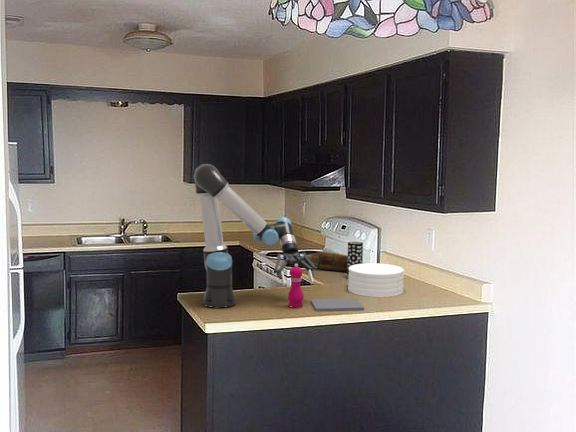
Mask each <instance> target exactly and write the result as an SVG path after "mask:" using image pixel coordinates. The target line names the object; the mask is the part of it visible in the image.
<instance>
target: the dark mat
mask: <svg viewBox="0 0 576 432" xmlns="http://www.w3.org/2000/svg"><path fill="white" fill-rule="evenodd" d="M310 303H311V305H312V307H313V309H314V308H315V309H314V310H316V311H315V312H337V311H338V312H340V311H344V312H345V311H348V310H349V311H365V307H364V306H363V305H362V303H361V302H360V301H359V300H358V298H328V299H327V298H322V299H320V298H319V299H318V298H317V299H316V298H315V299H314V298H313V299H310Z"/></svg>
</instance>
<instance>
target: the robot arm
mask: <svg viewBox="0 0 576 432" xmlns="http://www.w3.org/2000/svg"><path fill="white" fill-rule="evenodd" d="M193 181H194V185H195V187H194V188H195V194H196V195H197V196H198V197H199V201H200V208H201V217H202V226H203V232H204V233H203V234H204V242H205V243H204V244H205V246H204V248H203V249H202V250H203V260H204V261H203V263H204V268H205V270H206V290H205V293H204V295H203V299H202V305H203V304H204V305H207V306H212V307H225V306H232V305H234V304H235V303H236V302H237V300H236V296H235V293H234V290H233V259H232V255H231V254H229V252H228V246H227V245H225V242H224V236H223V228H222V219H221V212H220V211H221V209H220V202H221V203H222V204H223V205H224V206H225V207H226V208H227V209H228V210H229V211H230V212H231V213H232V214H234V215H235V217H236V218H238V219H239V220H240V221H241V222H242V223H243V224H244V225H245V226H246V227H247V228H249V229H250V230H251V232H252V234H253V235H252V236H253V240H254V241H255V242H263V244H264V245H266V246H271V247H272V246H274V245H276V244H277V242H278V241H279V243H280V247H281V252H282V254H281V253H278V254H277V256H276V264H275V266H274V269H273V274H277V275H278V279H279V280H281V284H282V287H285V285H286V280H285V279H286V278H285V275H284V272H283V270H284V268H285V267H286V266H287V265H288V264H298V265H300V266H301V267H302V268H304V269H305V270H307V274H308V279H309V283H310V285H313V284H314V281H315V280H314V271H315V270H316V266H315V265H314V264H313V263H312V262H311V261H310V259H309V258H308V257H307V256H306V255H307V254H306V252H305V251H304V252H302V253H300V252H299V248H298V244H297V240H296V237H295V233H294V229H293V225H292V222H291V220H290V218H289V217H287V216H284V217H283V216H282V217H279V218H277V219H276V220H275V223H270V224H268V222H267V221H265V220H264V219H263V218H262V216H260V214H259V213H258V212H256V211H255V210H254V208H252V207H251V206H250V205H249V204H248V203H247V202H246V201H245V200H244V199H243V198H242V197H241V196H240V195H239V194H237V192H235V191H234V189H232V188H231V187H230V186H229V182H228V181H227V179H225V178H224V176H223V175H222V174H221V173H220V171H219V170H218V168H217V167H215V166H214V165H212V164H211V163H202V164H200V165H198V166H197V167H196V168H195V169H194V172H193ZM219 201H220V202H219ZM300 257H301V258H302V259H303V260H304V261H303V260H302V259H301V258H300ZM282 259H284V261H283V263H282V264H281V266H280V267H279V265H280V263H281V260H282ZM278 267H279V268H278ZM236 304H237V303H236ZM236 304H235V305H236ZM204 305H203V306H204ZM235 305H234V306H235ZM232 307H233V306H232Z"/></svg>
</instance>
